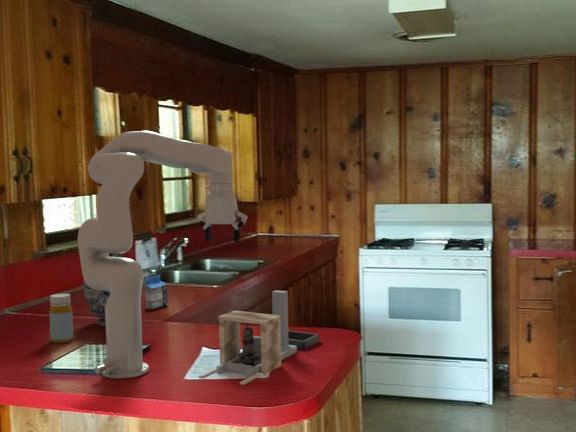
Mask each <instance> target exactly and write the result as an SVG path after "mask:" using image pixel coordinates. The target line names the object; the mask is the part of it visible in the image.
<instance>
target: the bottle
mask: <svg viewBox="0 0 576 432" xmlns="http://www.w3.org/2000/svg"><path fill="white" fill-rule="evenodd" d="M49 302H50V307H49V313H48V314H49V331H50V333H49V334H50V341H51V342H52V343H54V344H66V343H70V342H72V340H73V339H74V322H73V320H74V319H73V307H72V305H71V294H70V293H56V294H50V296H49Z"/></svg>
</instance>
